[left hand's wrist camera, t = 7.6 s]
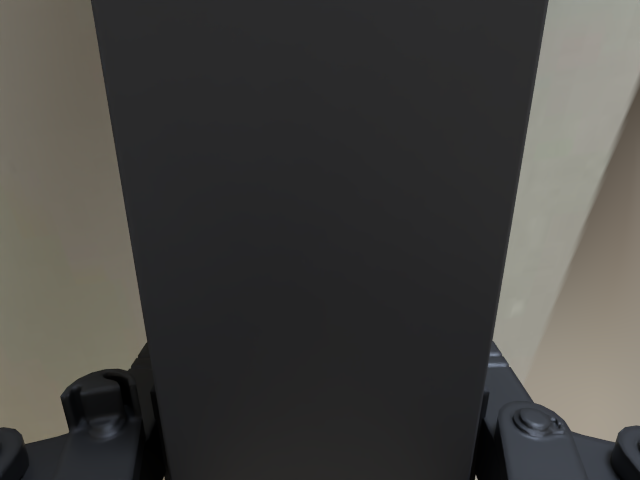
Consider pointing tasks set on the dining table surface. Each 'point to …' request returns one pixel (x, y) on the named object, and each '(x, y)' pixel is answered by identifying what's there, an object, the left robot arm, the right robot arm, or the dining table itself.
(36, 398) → the dining table surface
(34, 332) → the dining table surface
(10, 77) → the dining table surface
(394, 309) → the bar
